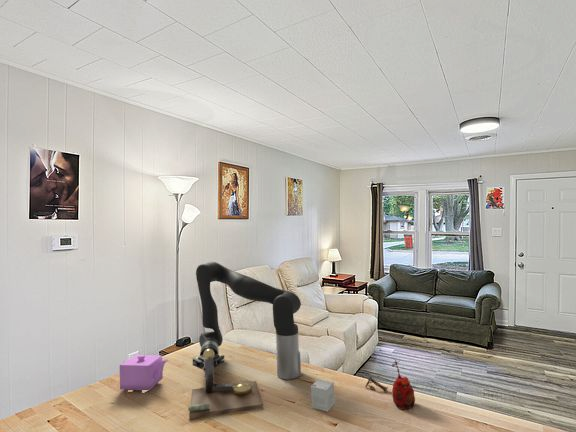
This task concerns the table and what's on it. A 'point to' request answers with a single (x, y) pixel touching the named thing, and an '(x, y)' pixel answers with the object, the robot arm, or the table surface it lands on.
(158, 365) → the teapot
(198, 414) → the walnut base
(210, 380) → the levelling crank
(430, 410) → the table surface
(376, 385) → the wooden post with brackets
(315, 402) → the skincare box
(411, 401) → the red rounded piece
